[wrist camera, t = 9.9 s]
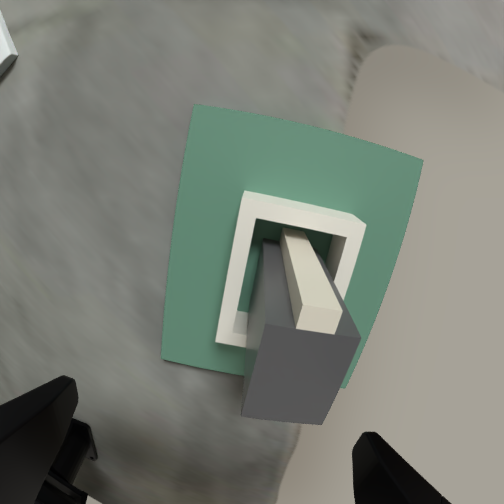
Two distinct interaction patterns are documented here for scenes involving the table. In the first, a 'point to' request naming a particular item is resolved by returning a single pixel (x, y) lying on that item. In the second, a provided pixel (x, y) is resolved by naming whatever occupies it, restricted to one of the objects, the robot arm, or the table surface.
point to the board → (276, 225)
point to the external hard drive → (6, 47)
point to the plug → (295, 335)
